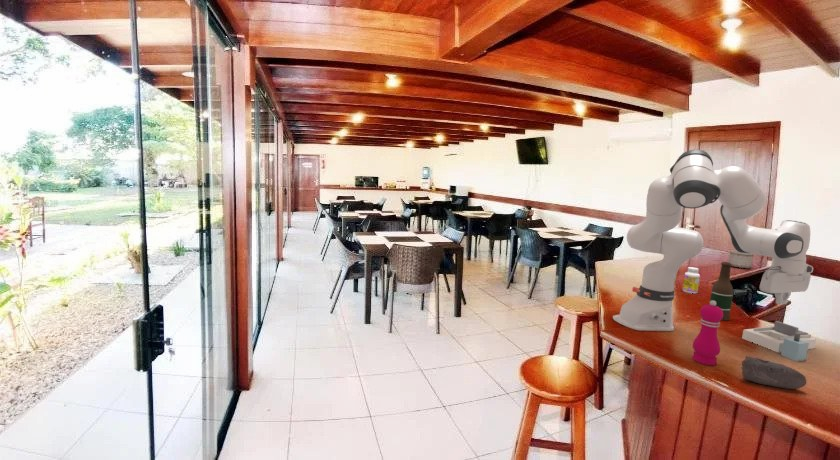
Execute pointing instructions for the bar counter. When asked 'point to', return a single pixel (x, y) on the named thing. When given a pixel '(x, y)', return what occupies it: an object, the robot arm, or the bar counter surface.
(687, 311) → the bar counter surface
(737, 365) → the bar counter surface
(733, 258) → the planter
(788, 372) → the perforated stone tool
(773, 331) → the socket board
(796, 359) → the plug
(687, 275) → the supplement bottle
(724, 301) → the beer bottle
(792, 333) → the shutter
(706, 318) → the pepper mill
